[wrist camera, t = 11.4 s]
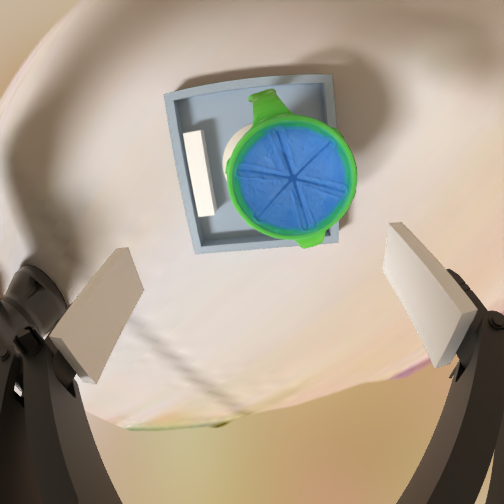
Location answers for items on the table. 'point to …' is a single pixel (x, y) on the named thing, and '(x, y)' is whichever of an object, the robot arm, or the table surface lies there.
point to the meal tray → (222, 145)
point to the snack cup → (290, 173)
